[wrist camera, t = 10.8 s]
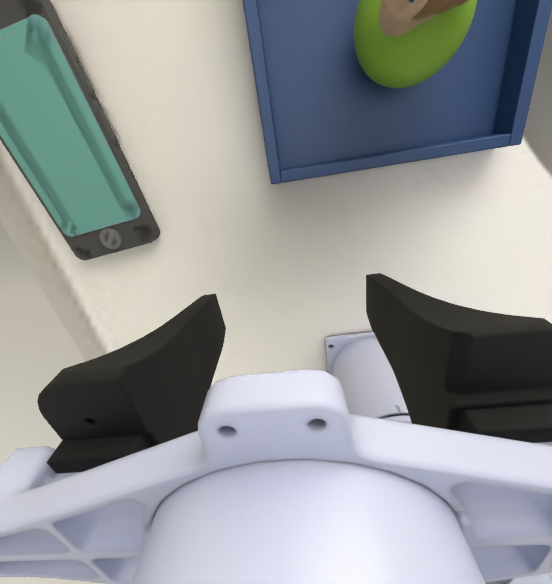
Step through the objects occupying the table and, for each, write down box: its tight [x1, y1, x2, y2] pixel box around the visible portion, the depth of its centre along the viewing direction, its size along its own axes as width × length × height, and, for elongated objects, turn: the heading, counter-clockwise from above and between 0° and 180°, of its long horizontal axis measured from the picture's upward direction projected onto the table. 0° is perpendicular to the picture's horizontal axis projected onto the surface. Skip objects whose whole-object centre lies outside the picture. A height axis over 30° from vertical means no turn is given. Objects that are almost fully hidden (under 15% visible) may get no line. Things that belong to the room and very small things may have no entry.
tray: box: [243, 0, 552, 184], centre depth 16 cm, size 15×13×2 cm
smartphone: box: [0, 0, 160, 260], centre depth 20 cm, size 7×1×15 cm
